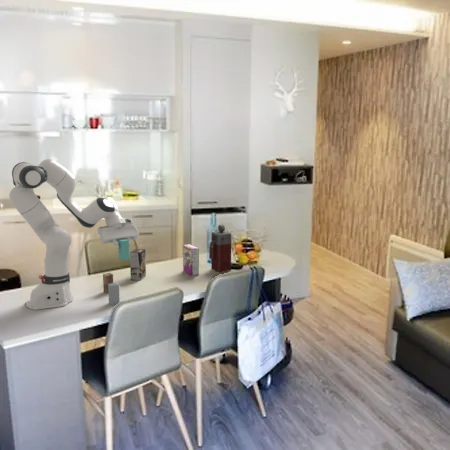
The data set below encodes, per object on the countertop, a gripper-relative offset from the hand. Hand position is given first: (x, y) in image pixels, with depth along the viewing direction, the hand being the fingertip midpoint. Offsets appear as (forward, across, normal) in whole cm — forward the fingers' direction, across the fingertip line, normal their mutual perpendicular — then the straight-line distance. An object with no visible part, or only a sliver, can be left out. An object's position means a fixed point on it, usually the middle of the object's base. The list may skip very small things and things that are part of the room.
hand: (124, 247), depth 262 cm
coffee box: (+1, +19, +36) cm, 41 cm away
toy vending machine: (+11, +67, +27) cm, 73 cm away
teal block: (+4, 0, +5) cm, 6 cm away
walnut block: (+11, -5, +26) cm, 29 cm away
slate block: (+23, -9, +14) cm, 29 cm away
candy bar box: (+8, +49, +30) cm, 58 cm away
